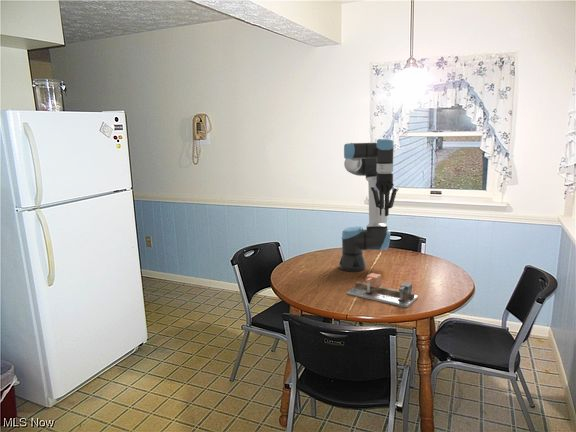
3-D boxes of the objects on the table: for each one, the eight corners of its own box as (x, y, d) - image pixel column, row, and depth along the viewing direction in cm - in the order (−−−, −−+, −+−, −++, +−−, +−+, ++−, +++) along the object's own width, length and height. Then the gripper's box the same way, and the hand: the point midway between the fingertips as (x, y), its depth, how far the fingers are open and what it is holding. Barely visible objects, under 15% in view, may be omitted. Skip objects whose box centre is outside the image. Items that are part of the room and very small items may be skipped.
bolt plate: (347, 293, 206) (347, 291, 206) (359, 285, 216) (359, 283, 216) (406, 307, 188) (406, 304, 188) (417, 297, 198) (417, 295, 198)
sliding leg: (362, 292, 203) (363, 278, 202) (371, 286, 210) (371, 272, 209) (372, 294, 200) (372, 280, 199) (380, 288, 207) (380, 274, 206)
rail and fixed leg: (350, 290, 207) (350, 278, 206) (359, 284, 214) (359, 273, 213) (408, 303, 190) (408, 290, 189) (415, 296, 197) (415, 284, 196)
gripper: (368, 172, 197) (367, 222, 202) (394, 174, 189) (393, 225, 194) (375, 171, 203) (374, 219, 208) (401, 172, 195) (400, 222, 200)
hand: (384, 222), depth 201 cm, fingers closed
